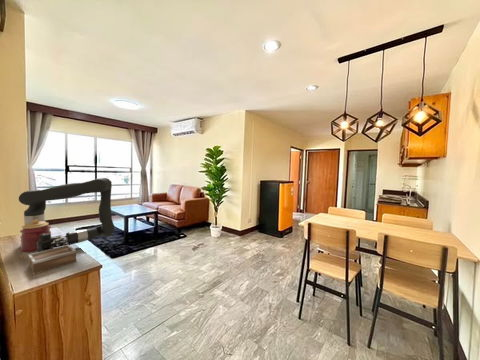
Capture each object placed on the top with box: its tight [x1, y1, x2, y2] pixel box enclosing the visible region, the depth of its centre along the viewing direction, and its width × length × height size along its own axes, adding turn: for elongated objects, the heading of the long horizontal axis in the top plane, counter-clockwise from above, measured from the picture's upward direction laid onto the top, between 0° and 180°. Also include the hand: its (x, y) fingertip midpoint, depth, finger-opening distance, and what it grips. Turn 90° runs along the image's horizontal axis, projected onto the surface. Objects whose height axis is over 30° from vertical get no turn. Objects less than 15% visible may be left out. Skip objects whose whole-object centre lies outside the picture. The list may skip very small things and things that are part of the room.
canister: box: [19, 219, 52, 253], centre depth 121 cm, size 13×13×18 cm
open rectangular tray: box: [27, 245, 77, 275], centre depth 104 cm, size 12×16×6 cm
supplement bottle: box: [36, 232, 54, 252], centre depth 112 cm, size 7×7×12 cm
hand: (39, 245), depth 111 cm, fingers closed on supplement bottle, 7 cm apart
